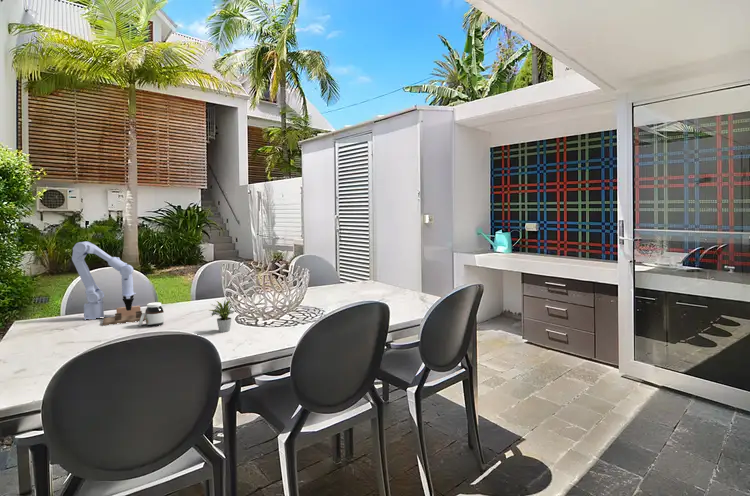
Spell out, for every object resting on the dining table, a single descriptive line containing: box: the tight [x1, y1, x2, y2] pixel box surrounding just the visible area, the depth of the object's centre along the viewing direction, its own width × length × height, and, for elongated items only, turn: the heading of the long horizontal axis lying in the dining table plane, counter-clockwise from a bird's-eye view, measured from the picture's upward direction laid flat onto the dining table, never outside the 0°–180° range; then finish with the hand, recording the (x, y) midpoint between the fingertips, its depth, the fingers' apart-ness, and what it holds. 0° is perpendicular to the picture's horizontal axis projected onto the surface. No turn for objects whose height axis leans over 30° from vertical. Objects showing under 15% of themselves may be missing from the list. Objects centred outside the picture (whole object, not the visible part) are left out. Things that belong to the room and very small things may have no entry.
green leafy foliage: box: [215, 296, 235, 315], centre depth 268 cm, size 34×5×10 cm
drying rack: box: [102, 310, 146, 326], centre depth 236 cm, size 24×12×4 cm, turn 120°
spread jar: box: [137, 301, 165, 327], centre depth 225 cm, size 12×11×12 cm
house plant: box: [208, 300, 233, 333], centre depth 215 cm, size 14×14×16 cm
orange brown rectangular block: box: [115, 305, 142, 316], centre depth 246 cm, size 12×3×6 cm, turn 120°
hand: (128, 309), depth 246 cm, fingers open, 7 cm apart
